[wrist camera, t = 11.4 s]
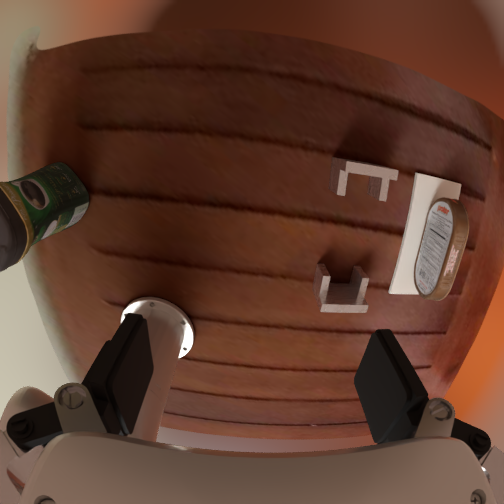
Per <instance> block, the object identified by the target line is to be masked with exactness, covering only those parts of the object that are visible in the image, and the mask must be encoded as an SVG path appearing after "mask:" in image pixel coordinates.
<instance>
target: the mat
mask: <svg viewBox="0 0 504 504" xmlns="http://www.w3.org/2000/svg"><path fill="white" fill-rule="evenodd" d="M460 189H461V184H459V183H455V182H452V181H448V180H444V179H440V178H436V177H432V176H428V175H424V174H420V173H416V172H415V179H414V185H413V191H412V197H411V202H410V207H409V213H408V217H407V222H406V227H405V231H404V236H403V240H402V244H401V248H400V252H399V256H398V260H397V264H396V267H395V271H394V275H393V278H392V282H391V285H390V288H389V293H390V294H419V293H418V291H417V290H416V287H415V284H414V265H415V261H416V257H417V253H418V250H419V246H420V242H421V238H422V234H423V230H424V226H425V222H426V218H427V214H428V211H429V209H430V207H431V205H432V204H433V203H434V201H435V200H437V199H439V198H442V197H446V198H450V199H457V200H459V195H460Z"/></svg>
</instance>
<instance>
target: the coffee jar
mask: <svg viewBox="0 0 504 504" xmlns="http://www.w3.org/2000/svg"><path fill="white" fill-rule="evenodd" d="M88 205H89V195H88V192H87V190H86V188H85V186H84V185H83V183H82V182H81V181H80V179H79V178H78V177H77V175H76V174H75V173H74V172H73V171H72V170H71V169H70V168H69V167H68V166H67V165H66V164H64V163H61V162H57V163H53V164H51V165H48V166H46V167H43V168H41V169H39V170H37V171H35V172H33V173H31V174H28V175H26V176H24V177H21V178H19V179H16V180H13V181H9V182H0V271H3V270H5V269H7V268H8V267H10V266H12V265H14V264H16V263H18V262H19V261H20V260H21V259H22V258H23V257H24V256H25V255H26V254H27V252H28V251H29V249H30V247H31V246H32V245H34V244H35V243H37V242H38V241H40V240H42V239H44V238H46V237H48V236H51V235H53V234H55V233H57V232H60V231H62V230H65V229H67V228H69V227H71V226H72V225H74V224H75V223H77V222H78V221H79V220H80V219H81V217H82V216H83V215H84V213H85V212H86V210H87V208H88Z"/></svg>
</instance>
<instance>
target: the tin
mask: <svg viewBox="0 0 504 504" xmlns="http://www.w3.org/2000/svg"><path fill="white" fill-rule="evenodd" d="M468 233H469V218H468V213H467V210H466V208H465V206H464V205H463V203H462V202H461V201H459V200H457V199H450V198H446V197H442V198H439V199H437V200H435V201H434V203H433V204H432V205H431V207H430V209H429V211H428V214H427V218H426V222H425V226H424V230H423V234H422V238H421V242H420V246H419V250H418V253H417V257H416V261H415V265H414V284H415V287H416V290H417V291H418V293H419V295H420V296H421V297H422V298H423V299H427V300H435V301H439V300H442V299H444V298H445V297H446V296H447V295H448V293H449V292H450V290H451V288H452V285H453V282H454V279H455V276H456V274H457V271H458V268H459V264H460V261H461V258H462V255H463V252H464V248H465V245H466V242H467V238H468Z"/></svg>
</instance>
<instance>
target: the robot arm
mask: <svg viewBox="0 0 504 504" xmlns="http://www.w3.org/2000/svg"><path fill="white" fill-rule="evenodd" d="M193 341H194V328H193V325H192V323H191V321H190V319H189V318H188V316H187V315H186V314H185V313H184V312H183V311H182V310H181V309H180V308H179V307H177V306H176V305H174V304H173V303H171V302H169V301H167V300H164V299H161V298H156V297H142V298H138V299H136V300H133V301H132V302H131V303H129V304H128V305H127V307H126V308H125V309H124V311H123V313H122V316H121V325H120V326H119V328H118V330H117V331H116V333H115V335H114V336H113V338H112V340H111V341H110V340H108V341H106V343H105V344H104V346H103V347H102V349H101V351H100V352H99V354H98V356H97V357H96V359H95V361H94V362H93V364H92V366H91V368H90V369H89V371H88V373H87V375H86V376H85V378H84V380H83V382H82V383H81V384H79V383H67V384H64V385H62V386H61V387H59V388H58V389H57V391H56V392H55V395H54V399H53V398H52V397H50V396H49V395H47V394H46V393H44V392H43V391H41V390H39V389H37V388H34V387H29V386H27V387H23V388H21V389H19V390H18V391H17V392H16V393H15V394H14V395H13V396H12V398H11V399H10V400H9V402H8V404H7V406H6V408H5V410H4V412H3V415H2V417H1V420H0V504H504V453H503V452H502V451H500V450H499V449H498V448H497V447H495V446H493V447H491V441H490V438H489V436H488V434H487V433H486V432H484V431H483V430H481V429H478V428H476V427H474V426H471V425H469V424H467V423H465V422H462V421H461V420H458V419H456V418H455V410H454V407H453V406H452V404H450V403H449V402H448V401H447V400H445V399H442V398H433V399H430V400H429V398H428V393H427V391H426V389H425V387H424V386H423V384H422V382H421V380H420V379H419V377H418V375H417V373H416V372H415V370H414V368H413V366H412V365H411V363H410V361H409V360H408V358H407V356H406V354H405V353H404V351H403V349H402V348H401V346H400V344H399V343H398V341H397V340H396V338H395V336H394V335H393V333H392V331H391V330H390V329H378V330H376V331H375V333H373V334H372V335H371V338H370V340H369V343H368V345H367V348H366V351H365V353H364V356H363V358H362V360H361V363H360V365H359V368H358V370H357V372H356V375H355V377H354V384H355V387H356V390H357V393H358V396H359V399H360V401H361V404H362V407H363V410H364V413H365V416H366V419H367V422H368V425H369V428H370V431H371V434H372V437H373V440H374V442H375V443H377V445H370V446H363V447H357V448H348V449H339V450H328V451H314V452H293V453H255V452H234V451H219V450H209V449H200V448H192V447H184V446H177V445H171V444H165V443H159V442H156V440H157V435H158V431H159V426H160V422H161V419H162V415H163V411H164V408H165V404H166V400H167V397H168V393H169V390H170V386H171V383H172V379H173V376H174V372H175V369H176V365H177V362H178V359H179V358H181V357H183V356H184V355H186V354H187V353H188V352H189V351H190V349H191V348H192V345H193Z"/></svg>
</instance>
